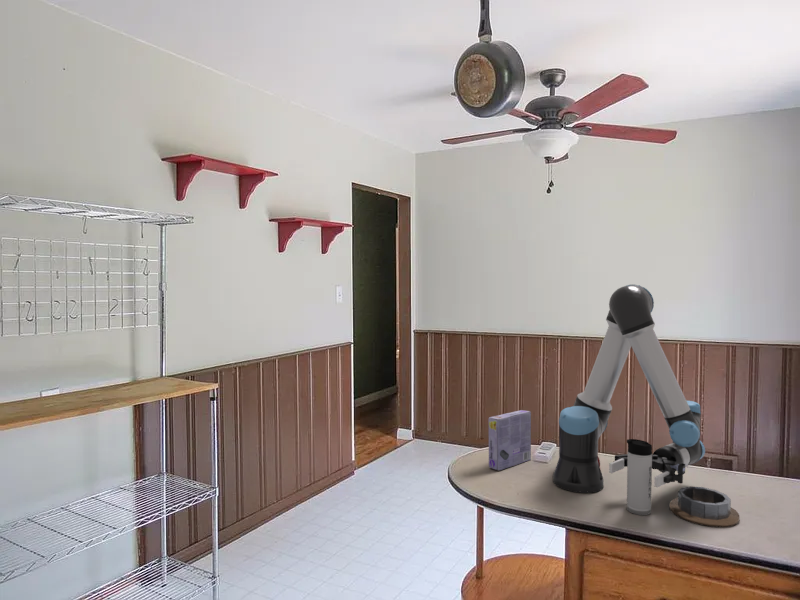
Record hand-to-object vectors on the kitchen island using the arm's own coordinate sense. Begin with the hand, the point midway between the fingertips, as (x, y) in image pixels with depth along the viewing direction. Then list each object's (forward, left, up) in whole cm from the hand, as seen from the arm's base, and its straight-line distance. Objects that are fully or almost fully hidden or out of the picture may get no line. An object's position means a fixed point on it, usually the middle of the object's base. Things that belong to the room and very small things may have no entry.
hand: (632, 475), depth 153 cm
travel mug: (-1, +3, -11) cm, 12 cm away
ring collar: (+6, +19, -11) cm, 23 cm away
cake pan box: (-46, -12, -11) cm, 49 cm away
